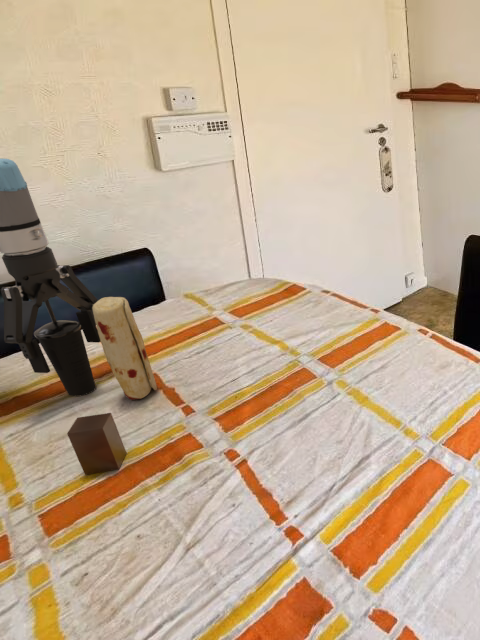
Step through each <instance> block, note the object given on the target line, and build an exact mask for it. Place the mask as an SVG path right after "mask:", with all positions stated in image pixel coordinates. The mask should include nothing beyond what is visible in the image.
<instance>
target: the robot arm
mask: <svg viewBox="0 0 480 640" xmlns="http://www.w3.org/2000/svg"><path fill="white" fill-rule="evenodd" d="M33 202H34V201H33V198H32V196H31V193H30V191H29V187H28V183H27V181H26V179H24V176H23V174H22V172H21V170H20V168H19V166H18V164H17V162H15V161H14V160H12V159H10V158H0V254H2V257H1V259H2V262H3V264H4V266H5V268H6V271H7V273H8V274H9V276H11V277H12V278H13V279H14V281H15V285H13V286H2V287H1V288H0V293H1V297H2V299H3V341H4V343H7V344H18V346H19V348H20V350H21V353H22V355H23V357H24V358H25V359H26V360H28V361H29V363H30V366H31V368H32V370H33V372H34V373H36V374H48V373H50V372H51V369H50V367H49V364H48V362H47V359H46V357H45V355H44V353H43V351H42V347H41V346H40V343H39V340H38V339H35V338H34V339H33V336H34V332H35V327H36V322H37V317H38V313H39V310H40V308H41V307H42V306H43V303H45V301H47V300H48V301H49V300H50V299H51V298H56V297H57V298H58V299H61V301H64V302H65V303H67V304H69V305H70V306H72V307H73V308H75V309H77V310H78V311H76V312H75V315H76V317H77V321H78V322H79V323H80V324H81V328H80V329H81V331H82V334H83V335H84V337H85V340H86V342H87V343H97V344H99V343H101V341H100V337H99V334H98V330H97V326H96V322H95V318H94V314H93V309H92V307H93V305H94V304H95V303H96V302H97V301H98V300H99V299H98V298H97V297H96V296H95V295H94V294H93V293H92V292H91V291H90V290H89V288H88V287H87V286H86V285H85V284H84V283H83V282H82V281H81V279H79V278H78V277H77V276H76V274H75V273H74V270H73V269H72V266H71V265H69V264H58V262H57V259H56V257H55V254H54V252H53V249H52V248H51V247H49V240H48V238H47V235H46V233H45V229H44V227H43V225H42V222H41V219H40V218H39V215H38V213H37V209H36V207H35V205H34V203H33ZM60 281H62V283H64V284H62V283H61V282H60Z"/></svg>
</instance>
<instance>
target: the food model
mask: <svg viewBox="0 0 480 640" xmlns="http://www.w3.org/2000/svg"><path fill="white" fill-rule="evenodd" d="M97 300H98V301H97V302H96V303H95V304H94V305H93V307H92V309H93V310H92V312H93V315H94V318H95V322H96V324H95V325H96V327H97V330H98V334H99V337H100V341H101V342H100V344H101V346H102V347H101V348H102V350H103V354H104V356H105V359H106V361H107V363H108V365H109V367H110V369H111V371H112V374H113V375H114V377H115V379H116V381H117V383H118V384H119V386H120V388H121V390H122V391H123V394H124V396H125V397H126V398H127V399H128V400H131V401H135V400H141V399H143V398H145V397H146V396H148V395H149V394H150V392H151V391H152V389H153V391H156V390H157V388H158V387H157V382H156V378H155V375H154V372H153V369H152V366H151V362H150V359H149V356H148V352H147V349H146V346H145V341H144V339H143V336H142V333H141V331H140V329H139V326H138V324H137V322H136V319H135V317H134V314H133V311H132V309H131V307H130V303H129V301H128V299H126V297H123V296H106V297H101V298H100V299H97Z"/></svg>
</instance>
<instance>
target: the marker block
mask: <svg viewBox="0 0 480 640" xmlns="http://www.w3.org/2000/svg"><path fill="white" fill-rule="evenodd" d="M66 435H67V437H68V440H69V441H70V444H71V446H72V448H73V450H74V453H75V455H76V458H77V459H78V462H79V464H80V467H81V469H82V471H83V473H84V475H85V476H87V475H88V476H89V475H93V474H98V473H99V474H100V473H105V472H111V471H117V470H120V468H121V466H122V463H123V461H124V459H125V457H126V455H127V451H126V448H125V445H124V442H123V441H122V440H123V439H122V437H121V434H120V432H119V430H118V427H117V425H116V422H115V420H114V416H113V414H112V412H107V413H106V412H105V413H100V414H93V415H85V416H81V417H80V416H79V417H77V418H76V419H75V420H74V422H73V423H72V425H71V427H70V428H69V429H68V431H67V433H66Z"/></svg>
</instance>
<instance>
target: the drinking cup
mask: <svg viewBox="0 0 480 640" xmlns="http://www.w3.org/2000/svg"><path fill="white" fill-rule="evenodd" d="M44 304H45V307H46V309H47V312H48V314H49V316H50V320H51V322H48V323H46V324H44V325H42V326H41V327H39V328H37V329H36V330H34V332H33V336H34V338H36V339H37V341H38V343H39V345H41V348H42V349H43V351H44V352H45V355H46V356H47V358H48V360H49V362H50V364H51V365H52V367H53V369H54V371H55V373H56V374H57V377H58V378H59V380H60V382H61V383H62V385H63V387H64V389H65V392H66V393H67V394H68V396H70V397H81V396H85V395H87V394H86V393H88V394H90V393H92V392H93V391H95V390H96V387H97V385H96V383H95V379H94V375H93V371H92V367H91V362H90V359H89V356H88V352H87V349H86V344H85V340H84V337H83V332H82V328H81V324H80V323H79V321H77V320H65V319H64V320H62V319H61V320H57V318H56V315H55V313H54V311H53V308H52V306H51V303H50V301H49V299H48V300H47V301H45V302H44ZM94 389H95V390H94ZM91 391H92V392H91ZM89 392H90V393H89ZM84 394H85V395H84ZM80 395H81V396H80Z"/></svg>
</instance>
